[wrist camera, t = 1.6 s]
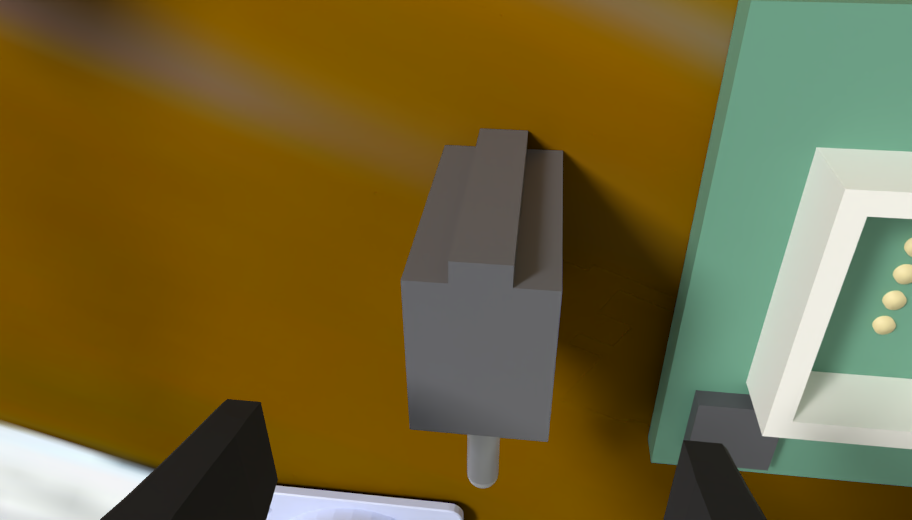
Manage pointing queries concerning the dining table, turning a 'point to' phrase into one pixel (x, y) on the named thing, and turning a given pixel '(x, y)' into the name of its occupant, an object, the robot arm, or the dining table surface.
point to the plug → (486, 297)
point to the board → (801, 251)
